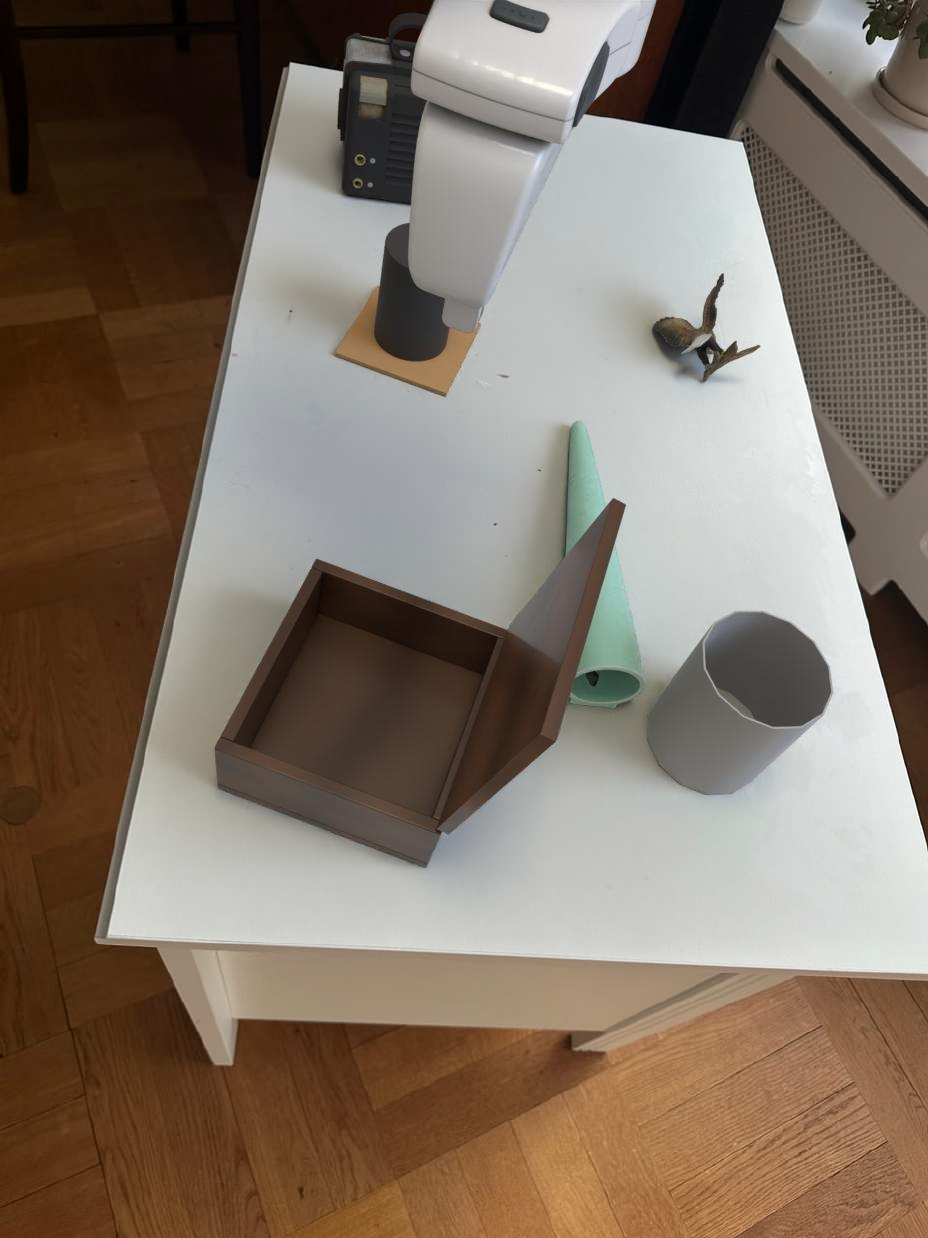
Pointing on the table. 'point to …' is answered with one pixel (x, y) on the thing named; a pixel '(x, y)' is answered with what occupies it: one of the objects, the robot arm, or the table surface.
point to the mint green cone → (601, 594)
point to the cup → (738, 702)
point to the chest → (360, 712)
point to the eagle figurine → (702, 335)
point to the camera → (379, 114)
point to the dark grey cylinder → (407, 307)
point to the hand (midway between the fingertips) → (487, 269)
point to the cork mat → (424, 374)
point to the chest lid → (533, 673)
